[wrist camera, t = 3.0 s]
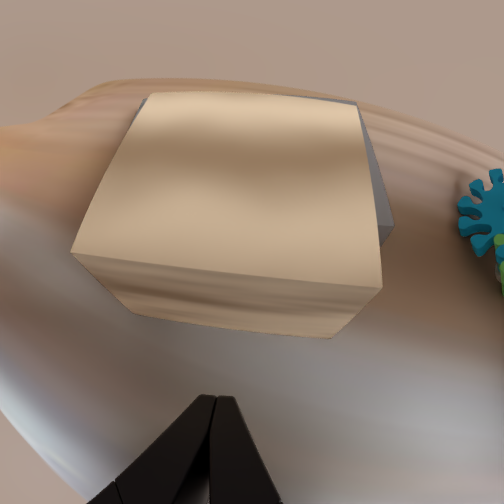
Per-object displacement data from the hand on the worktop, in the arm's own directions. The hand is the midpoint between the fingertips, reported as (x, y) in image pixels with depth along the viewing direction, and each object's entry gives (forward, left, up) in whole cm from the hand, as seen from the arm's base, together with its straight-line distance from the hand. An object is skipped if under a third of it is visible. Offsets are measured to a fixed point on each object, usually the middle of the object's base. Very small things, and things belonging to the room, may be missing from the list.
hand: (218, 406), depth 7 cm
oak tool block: (+9, 0, -8) cm, 12 cm away
